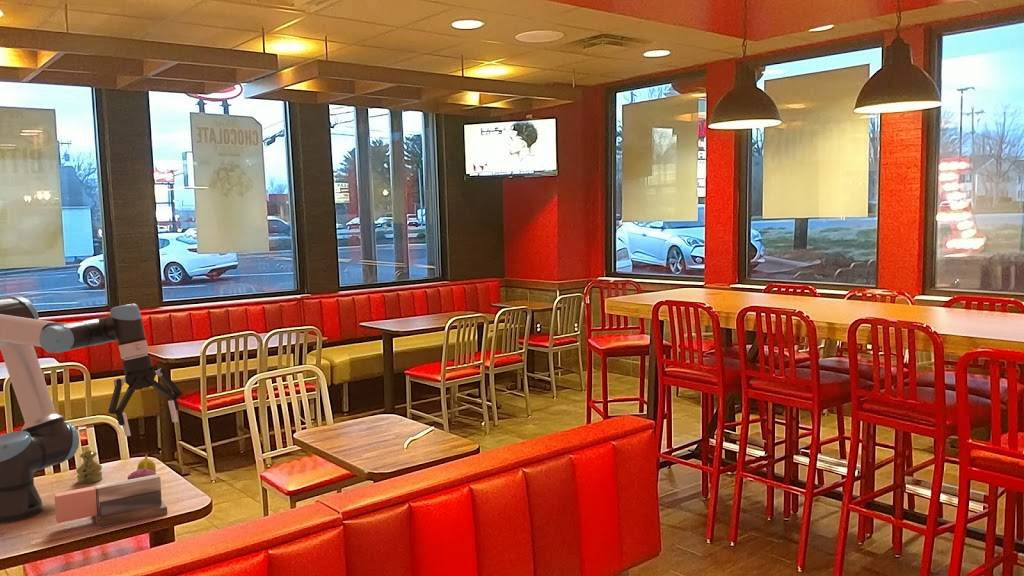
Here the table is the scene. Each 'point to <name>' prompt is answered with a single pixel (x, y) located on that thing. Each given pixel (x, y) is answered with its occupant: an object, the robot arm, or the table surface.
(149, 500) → the ticket holder
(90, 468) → the christmas tree figurine
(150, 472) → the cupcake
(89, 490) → the stub
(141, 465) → the lemon
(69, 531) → the table surface
